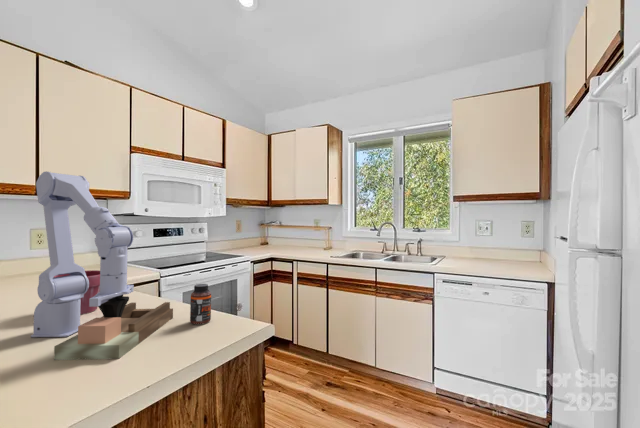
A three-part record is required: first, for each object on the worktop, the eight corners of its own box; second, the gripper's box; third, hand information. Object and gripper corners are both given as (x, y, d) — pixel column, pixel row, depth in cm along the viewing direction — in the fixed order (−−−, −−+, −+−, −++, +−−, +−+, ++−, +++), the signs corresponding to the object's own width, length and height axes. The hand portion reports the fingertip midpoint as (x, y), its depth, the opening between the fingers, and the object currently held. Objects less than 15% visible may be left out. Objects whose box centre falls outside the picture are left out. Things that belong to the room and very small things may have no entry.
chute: (54, 359, 67) (54, 337, 67) (127, 318, 95) (127, 302, 95) (119, 358, 68) (119, 336, 68) (172, 317, 96) (173, 302, 96)
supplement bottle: (203, 326, 89) (204, 287, 89) (185, 324, 90) (186, 286, 90) (214, 319, 95) (215, 283, 95) (197, 318, 96) (198, 282, 96)
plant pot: (77, 319, 94) (78, 278, 94) (40, 316, 96) (41, 276, 97) (116, 306, 108) (116, 270, 108) (82, 304, 110) (83, 269, 111)
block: (77, 343, 69) (78, 326, 69) (95, 333, 75) (96, 317, 75) (105, 343, 69) (105, 325, 69) (121, 333, 75) (121, 317, 75)
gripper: (111, 279, 70) (110, 338, 70) (144, 268, 85) (144, 317, 84) (80, 279, 70) (79, 338, 70) (119, 268, 84) (118, 317, 84)
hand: (112, 327), depth 77 cm, fingers closed
